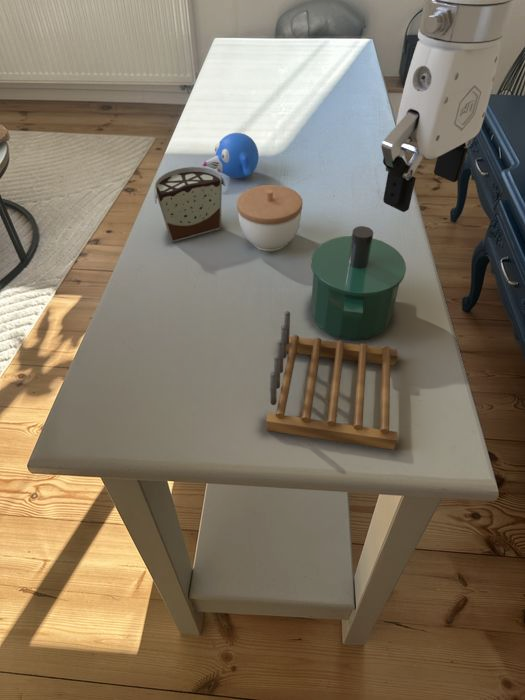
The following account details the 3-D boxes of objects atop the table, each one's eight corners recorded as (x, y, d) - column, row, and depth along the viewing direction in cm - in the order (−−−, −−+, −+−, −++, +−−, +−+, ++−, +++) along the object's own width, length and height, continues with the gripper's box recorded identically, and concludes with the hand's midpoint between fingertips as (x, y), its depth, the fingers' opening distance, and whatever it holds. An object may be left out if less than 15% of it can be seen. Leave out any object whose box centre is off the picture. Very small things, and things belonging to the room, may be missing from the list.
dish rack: (394, 359, 65) (407, 314, 59) (394, 449, 56) (409, 407, 49) (284, 345, 67) (286, 300, 61) (266, 430, 58) (265, 387, 52)
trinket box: (247, 264, 80) (245, 214, 73) (233, 229, 87) (229, 180, 80) (309, 253, 82) (312, 203, 75) (289, 219, 89) (291, 171, 82)
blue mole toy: (193, 172, 102) (188, 131, 96) (244, 159, 105) (242, 119, 99) (216, 198, 94) (212, 156, 88) (269, 183, 98) (269, 142, 92)
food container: (215, 210, 91) (210, 159, 84) (228, 226, 88) (224, 174, 80) (153, 227, 88) (142, 175, 80) (163, 244, 84) (153, 192, 77)
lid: (403, 247, 69) (412, 209, 65) (404, 305, 61) (414, 266, 56) (316, 238, 71) (319, 202, 66) (305, 294, 62) (307, 256, 58)
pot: (390, 280, 76) (401, 234, 70) (389, 359, 65) (401, 313, 59) (317, 272, 78) (321, 227, 72) (304, 348, 67) (307, 302, 60)
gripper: (442, 49, 38) (401, 233, 51) (548, 9, 46) (489, 178, 59) (369, 31, 42) (348, 206, 55) (478, -3, 50) (437, 157, 63)
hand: (421, 191), depth 57 cm, fingers open, 9 cm apart
